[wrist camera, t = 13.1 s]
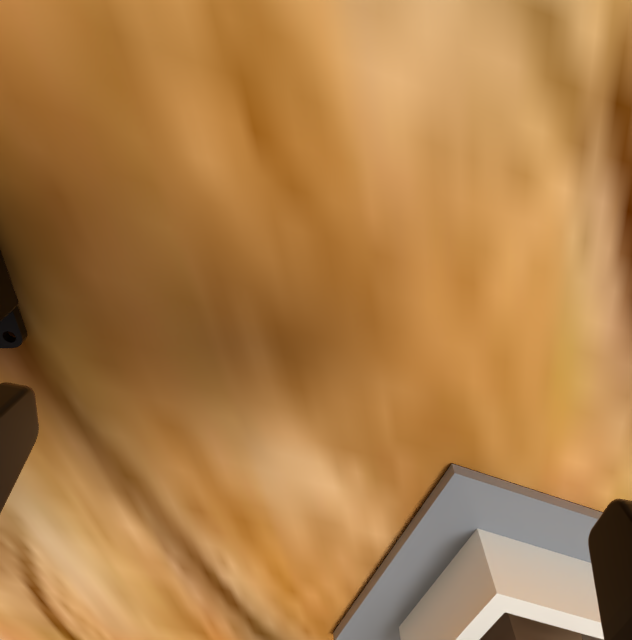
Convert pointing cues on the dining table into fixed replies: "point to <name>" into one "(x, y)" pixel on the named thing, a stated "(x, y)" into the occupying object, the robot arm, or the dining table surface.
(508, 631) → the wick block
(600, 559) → the robot arm
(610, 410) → the dining table surface
